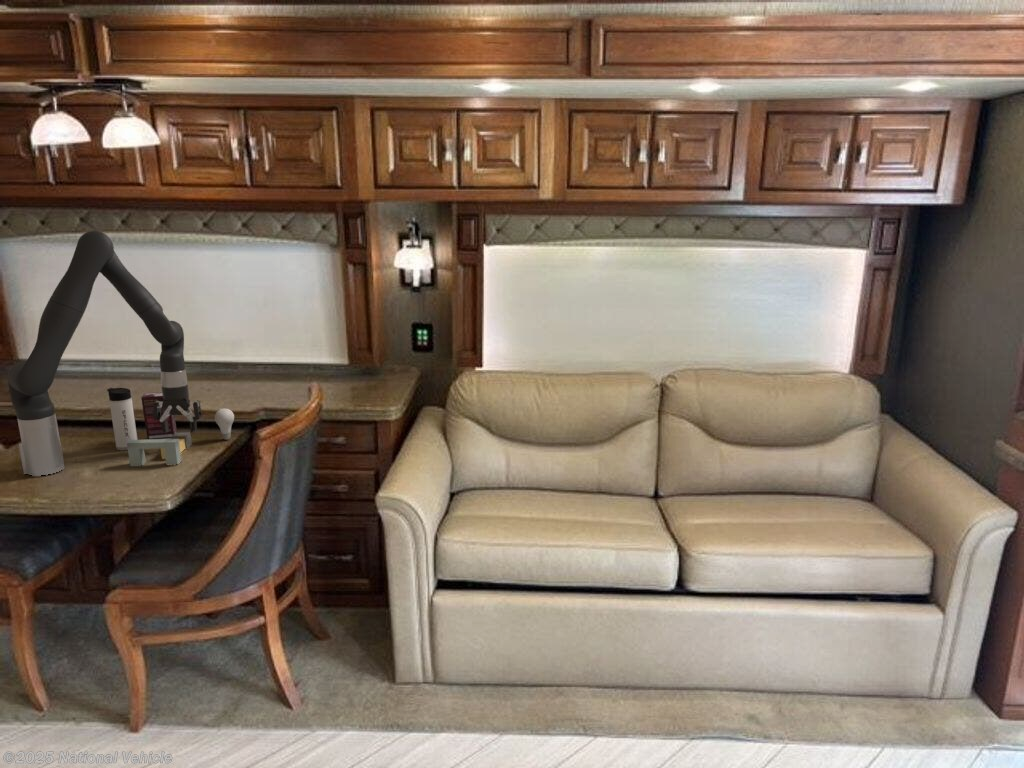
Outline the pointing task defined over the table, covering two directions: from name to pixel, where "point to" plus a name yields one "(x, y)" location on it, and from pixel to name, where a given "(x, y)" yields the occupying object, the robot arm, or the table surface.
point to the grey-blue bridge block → (138, 448)
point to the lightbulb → (224, 422)
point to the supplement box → (155, 425)
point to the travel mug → (122, 417)
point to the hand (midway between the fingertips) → (179, 432)
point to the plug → (180, 441)
